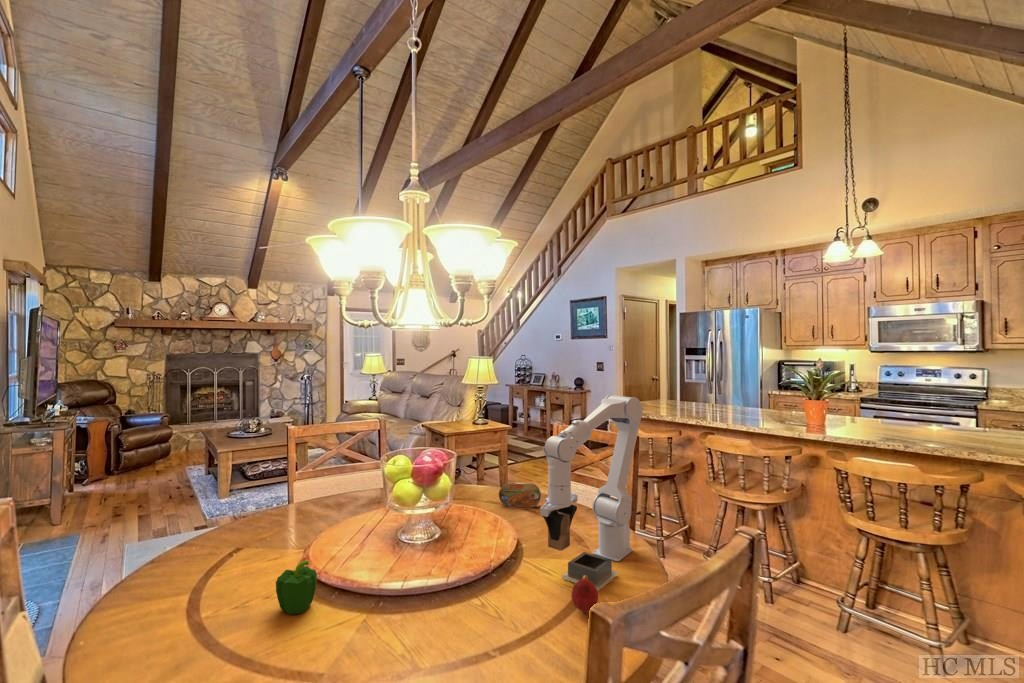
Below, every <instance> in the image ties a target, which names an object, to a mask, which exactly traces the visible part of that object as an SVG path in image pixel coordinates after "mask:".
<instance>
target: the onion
mask: <svg viewBox="0 0 1024 683" xmlns="http://www.w3.org/2000/svg"><path fill="white" fill-rule="evenodd" d="M598 592H599V591H597V589H596V587H595V586H594V584H593V583H592V582H591V581H589V580H588V577H587V576H586V575H584V576H583V578H582V580H580V581H578V582H577V583H574V585H573V587H572V590H571V600H572V603H573V605H574V606H575V608H576V609H577V610H579V611H580V612H581V613H584V614H587V613H589V612H590V611H591V610H590V608H591V607H592V606H593V605H594V604H596V603H597V604H598V601H599V593H598ZM597 604H596V605H597ZM589 610H590V611H589Z"/></svg>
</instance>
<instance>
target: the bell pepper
mask: <svg viewBox="0 0 1024 683" xmlns="http://www.w3.org/2000/svg"><path fill="white" fill-rule="evenodd" d="M309 563H310V561H309V560H308V559H307V560H306V559H305V560H303V561H301V562H299V564H297V565H296V568H295V570H293V569H285V570H284V571H283V572H282V574H280V575H279V576H277V578H276V581H275V593H276V597H277V601H278V604H279V608H280V610H282V612H285V613H287V614H289V615H292V616H293V615H299V614H301V613H305V611H306V610H307V609H308V608H309V606H311V604H312V603H313V601H314V597H315V593H316V589H317V585H318V584H317V583H318V573H317V571H316V569H312V568H310V567H309Z"/></svg>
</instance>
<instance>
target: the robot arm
mask: <svg viewBox="0 0 1024 683" xmlns="http://www.w3.org/2000/svg"><path fill="white" fill-rule="evenodd" d="M643 411H644V407H643V405H642V403H641V401H640V399H639V397H638V398H637V397H635V396H632V397H631V396H624V395H615V394H611V393H609V394H607V395H606V396H605V397H604V398H602V399H601V401H600V404H599V406H597V408H595V409H594V410H593V411H592V412H591V413H590V414H589V415H588V416H586V418H584V419H583V420H582V419H577V420H575V419H574V420H572V421H571V424H570V425H569V426H568V427H566V428H565V429H564V430H561V431H560V432H559V434H558V435H552V436H550V437H548V438H547V439H546V441H545V443H544V446H543V447H542V450H543V453H544V455H545V457H546V462H547V464H548V467H547V469H548V470H547V472H548V475H547V476H548V479H547V481H548V486H547V487H548V488H547V489H548V490H547V491H548V493H547V494H548V496H547V497H546V498H544V502H545V503H544V504H543V505H542V506H541V507H539V515H540V516H542V517H543V519H544V521H545V523H546V527H547V531H548V530H549V534H550V538H551V539H553V540H556V541H558V540H559V536H560V527H561V522H562V519H563V517H564V515H562V514H558V512H561V513H565V514H569V515H570V527H571V524H572V522H573V519H574V516H575V514H576V512H577V511H578V507H577V505H574V504H573V503H577V502H578V498H579V497H578V496H579V494H576V493H573V492H571V491H572V490H571V489H572V486H571V485H572V484H571V483H572V482H571V481H572V480H571V477H572V476H571V474H572V473H571V472H572V469H571V467H572V466H571V464H572V462H571V460H573V459H574V458H575V455H576V452H577V451H578V449H579V447H581V446H583V444H584V443H586V442H587V441H588V440H590V438H592V432H593V431H594V430H595V429H596V428H598V427H599V426H601V425H602V424H604V423H605V422H606V421H608V420H611V422H612V423H613V424H614V425H615V426H616V427H617V430H618V432H617V435H616V440H615V444H614V449H613V454H612V458H611V462H610V467H609V472H608V475H607V479H606V484H605V485H602V486H601V487H600V488H598V490H597V493H596V496H595V497H594V499H593V502H592V513H593V514H594V515H595V516H596V520H597V521H598V548H596V549H595V550H593V551H592V554H593V555H596V556H599V557H603V558H606V559H609V560H612V561H615V562H620V561H621V560H623V559H624V558H625V557H626V556H628V555H629V554H630V553H632V552H633V551H634V550H633V548H632V547H631V546H630V544H631V543H630V541H631V540H630V539H631V538H630V537H631V535H630V534H631V530H630V529H631V528H630V525H629V523H628V522H629V521H630V519H631V517H632V502H633V501H632V500H633V499H632V497H631V495H630V494H629V493H628V491H627V489H626V488H627V484H628V479H629V474H630V470H631V466H632V461H633V457H634V452H635V448H636V442H637V439H638V434H639V429H640V423H641V420H642V415H643Z"/></svg>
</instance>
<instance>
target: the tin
mask: <svg viewBox="0 0 1024 683" xmlns="http://www.w3.org/2000/svg"><path fill="white" fill-rule="evenodd" d="M541 497H542V493H541V490H540V488H539V487H538V486H537V485H536V484H535V483H532V482H512V481H511V482H507V483H504V484H503V485H502V486H501V487H500V489H499V491H498V499H499V502H501V504H503V505H504V506H506V507H509V508H522V509H523V508H524V509H525V508H526V509H527V508H530V509H532V508H535V507H536V506H538V504H540V501H541Z"/></svg>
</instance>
